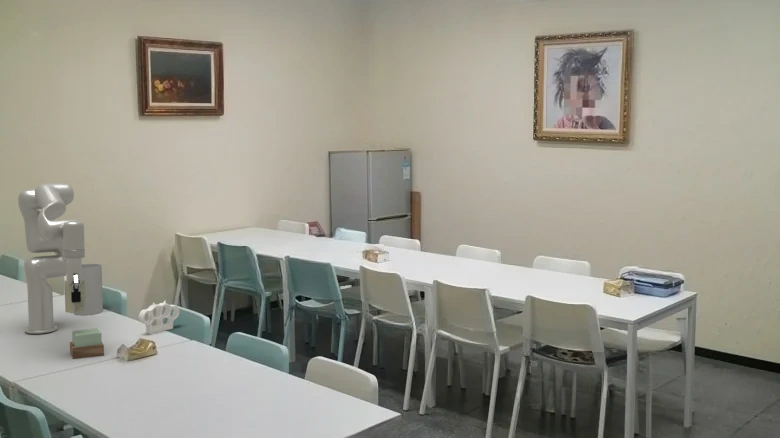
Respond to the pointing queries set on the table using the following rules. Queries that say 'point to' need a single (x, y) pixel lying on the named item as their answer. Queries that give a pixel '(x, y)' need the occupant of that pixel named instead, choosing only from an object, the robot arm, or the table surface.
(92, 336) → the tower top block
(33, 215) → the robot arm
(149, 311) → the white brass knuckles
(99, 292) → the cylinder vase
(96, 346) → the tower base block
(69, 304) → the skincare box
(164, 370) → the table surface
